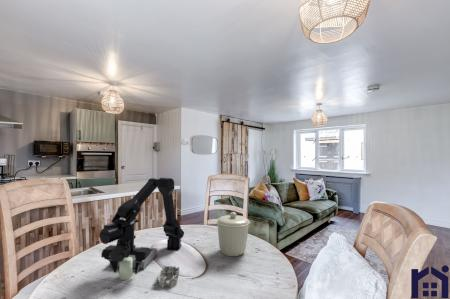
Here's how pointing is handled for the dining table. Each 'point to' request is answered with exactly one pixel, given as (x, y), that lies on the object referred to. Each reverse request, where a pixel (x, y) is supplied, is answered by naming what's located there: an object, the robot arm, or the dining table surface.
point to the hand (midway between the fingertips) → (125, 272)
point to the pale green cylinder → (125, 268)
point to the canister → (232, 234)
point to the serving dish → (144, 262)
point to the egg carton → (168, 276)
